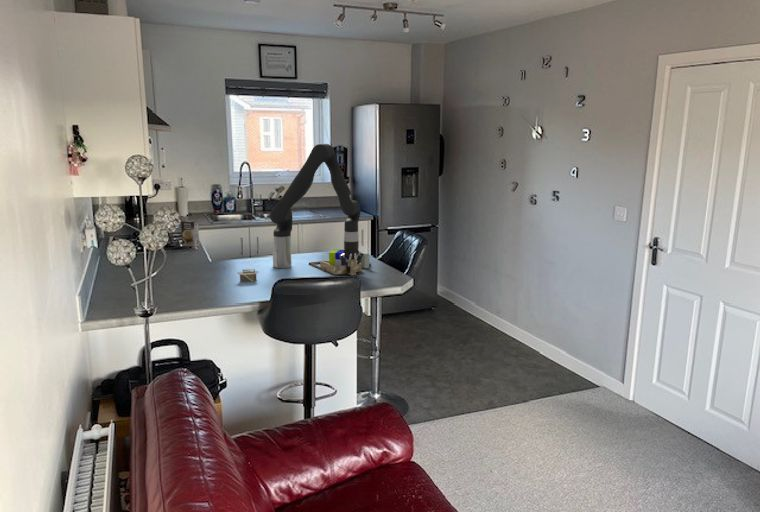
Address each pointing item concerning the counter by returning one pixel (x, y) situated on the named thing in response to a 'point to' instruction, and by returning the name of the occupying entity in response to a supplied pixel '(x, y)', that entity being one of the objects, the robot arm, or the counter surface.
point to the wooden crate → (248, 275)
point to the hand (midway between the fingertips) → (351, 272)
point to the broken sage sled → (365, 260)
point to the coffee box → (190, 233)
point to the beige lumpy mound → (341, 267)
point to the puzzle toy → (336, 257)
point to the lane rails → (321, 267)
